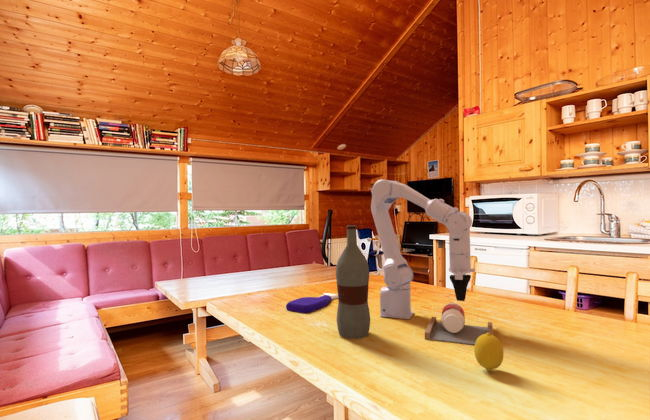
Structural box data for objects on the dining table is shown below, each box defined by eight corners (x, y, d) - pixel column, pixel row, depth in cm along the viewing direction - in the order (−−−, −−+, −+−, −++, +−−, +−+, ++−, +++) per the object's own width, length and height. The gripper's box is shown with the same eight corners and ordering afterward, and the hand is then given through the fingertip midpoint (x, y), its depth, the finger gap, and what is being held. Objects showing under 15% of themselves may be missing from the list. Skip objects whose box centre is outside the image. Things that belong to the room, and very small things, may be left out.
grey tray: (424, 339, 95) (424, 332, 95) (432, 322, 109) (432, 316, 109) (493, 347, 89) (493, 340, 89) (492, 328, 102) (492, 322, 102)
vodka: (373, 330, 103) (371, 224, 103) (366, 341, 95) (364, 226, 95) (342, 327, 106) (340, 224, 106) (332, 337, 98) (330, 226, 98)
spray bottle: (308, 306, 121) (344, 292, 142) (282, 302, 127) (321, 289, 148) (308, 315, 121) (344, 300, 142) (282, 311, 127) (321, 297, 148)
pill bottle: (462, 301, 106) (463, 311, 96) (466, 322, 106) (467, 335, 95) (440, 303, 108) (438, 313, 98) (443, 324, 108) (442, 336, 97)
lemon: (470, 366, 78) (469, 329, 78) (494, 364, 79) (493, 327, 79) (483, 377, 73) (482, 337, 73) (509, 376, 73) (508, 336, 73)
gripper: (474, 257, 97) (475, 307, 97) (475, 251, 111) (476, 295, 111) (446, 256, 100) (447, 305, 100) (450, 250, 113) (451, 294, 113)
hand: (460, 300), depth 105 cm, fingers closed
